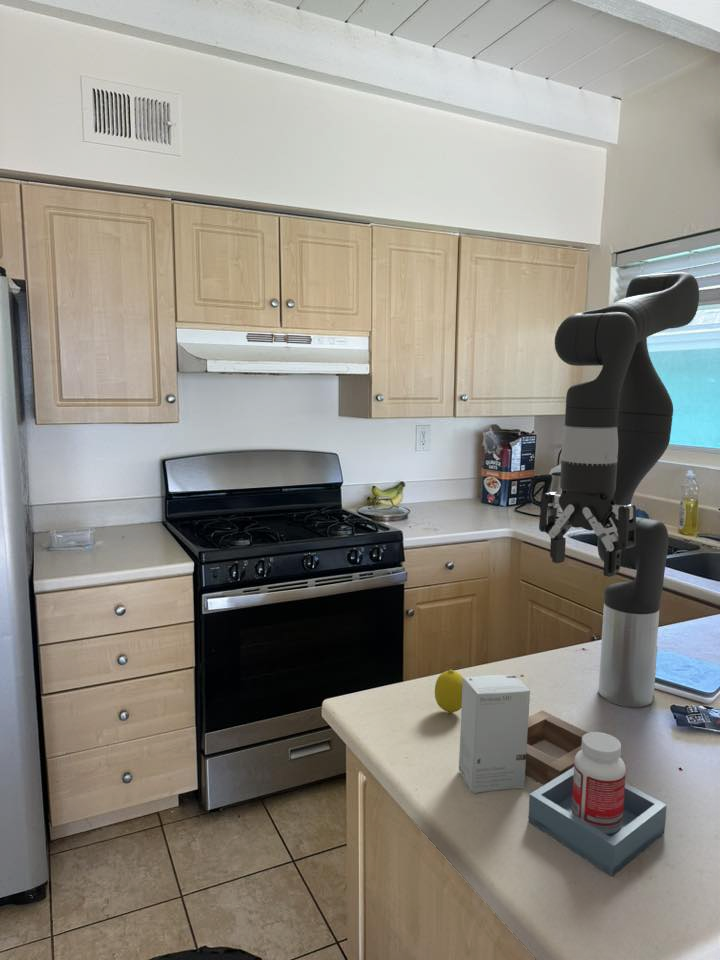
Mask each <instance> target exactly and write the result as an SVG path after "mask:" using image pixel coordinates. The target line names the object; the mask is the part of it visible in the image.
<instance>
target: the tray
mask: <svg viewBox="0 0 720 960" xmlns="http://www.w3.org/2000/svg"><path fill="white" fill-rule="evenodd" d="M573 779H574V767H573V768H572V769H570V770H568V771H567V772H565V773H563V774H562V775H560V776H558V777H557V778H555V779H553V780H552V781H550V782H549V783H547V784H545V785H542V786H540V787H539V788H537V789H535V790H533V791H531V792H530V793H529V801H528V823H529V824H531V825H532V826H533V827H536V828H537V829H538V830H540V831H542V832H543V833H545V834H546V835H548V836H549V837H551V838H552V839H554V840H555V841H557V842H559V843H560V844H561V845H563V846H565V847H566V848H568V850H570V851H572V852H573V853H575V854H577V855H578V856H579V857H581V858H582V859H585V860H586V861H587V862H589V863H590V864H591V865H593V866H595V867H596V868H598V869H600V870H601V871H603V872H604V873H605V874H607V875H609V876H610V877H613V876H615V875H616V874H617V873H618V872H620V871H621V870H622V869H623V868H624V867H626V866H627V865H628V864H629V863H631V862H632V861H633V860H634V859H635V858H636V857H637V856H639V855H640V854H641V853H643V852H644V851H645V850H646V849H648V848H649V847H650V846H651V845H652V844H654V843H655V842H656V841H657V840H659V838H661V837H662V836H663V835H664V834H665V829H666V819H667V816H666V815H667V808H668V807H667V804H666V803H664V802H662V801H661V800H659V799H656V798H655V797H653V796H651V795H649V794H647V793H645V792H643V791H642V790H639V789H637V788H635V787H634V786H631V785H629V784H628V783H626V782H625V791H624V806H623V820H622V826H621V828H620V829H619V830H618V831H617V832H615V833H612V834H605V833H603V832H601V831H600V830H598V829H596V828H595V827H593V826H591V825H590V824H588V823H586V822H585V821H583V820H581V819H580V818H578V817H577V816H575V815H573V814H572V797H573Z"/></svg>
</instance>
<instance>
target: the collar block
mask: <svg viewBox="0 0 720 960" xmlns="http://www.w3.org/2000/svg"><path fill="white" fill-rule="evenodd" d="M586 733H589V732H588V731H586V730H584V729H582V728H580V727H578V726H576V725H573V724H572V723H569V722H567V721H566V720H563V719H561V718H559V717H557V716H556V715H553V714H551V713H549V712H546V711H545V710H540V711H538V712H535V713H534V714H532V715H529V718H528V734H527V750H526V766H525V776H526V777H529V778H530V779H532V780H534V781H536V782H537V783H538V784H541V785H542V786H544V785H545V784H547V783H549V782H550V781H552V780H553V779H555V778H557V777H558V776H560V775H562V774H563V773H565V772H567V771H568V770H570V769H572V768H573V767H574V761H575V756H576V754H577V752H578V751H580V750H581V744H582V737H583V735H585V734H586ZM543 740H544V741H546V742H548V743H550V744H552V745H554V746H556V747H558V748H559V749H561V750H563V751H565V752H567V753H566V754H564V755H563V756H561V757H559V758H558V759H556V758H554V757H552V756H550V755H549V754H547V753H545V752H543V751H541V750H539V749H538V748H535V747H534V746H535V745H536V744H538V743H540V742H542V741H543Z"/></svg>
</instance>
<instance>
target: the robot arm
mask: <svg viewBox="0 0 720 960" xmlns="http://www.w3.org/2000/svg"><path fill="white" fill-rule="evenodd" d="M699 302H700V288H699V283H698V280H697V278H695V276H694V275H692V274H691V273H688V272H683V271H678V272H662V273H652V274H643V275H642V274H641V275H636V276H634V277H633V278H632V279H631V280H630V282H629V284H628V286H627V289H626V294H625V297H624V298H622V299H619V300H617V301H615V302H612V303H611V304H608V305H606V306H604V307H602V308H597V309H592V310H591V309H590V310H586V311H581V312H578V313H573V314H571V315H569V316H568V317H566V318H565V319H564V320H563V321H562V322H561V323H560V325H559V326H558V328H557V330H556V333H555V336H554V348H555V351H556V354H557V356H558V357H559V359H560V360H561V361H563V363H565V364H567V365H570V366H575V367H577V366H579V367H584V366H585V367H588V366H593V367H594V366H602V369H601V370H600V372H599V374H598V376H597V377H596V378H595V379H593V380H591V381H585V382H582V383H576V384H573V385H571V386H570V387H569V388H568V389H567V392H566V398H565V414H564V415H565V416H564V430H563V436H562V441H561V458H560V459H561V460H560V482H559V487H560V489H561V494H559V493H558V492H557V491H550V492H545V493H543V494H541V501H540V503H541V504H540V513H539V523H538V529H539V531H540V532H541V533H546V534H547V535H548V537H550V544H549V545H550V548H549V549H550V550H549V556H550V558H551V562H552V563H553V564H561V563H564V562H565V558H566V542H567V538H566V537H564V536H565V535H566V533H568V531H569V530H570V529H571V528H576V529H577V528H578V529H579V528H582V529H584V530H586V531H593V532H594V534H595V535H596V537H597V553H598V556H599V559H600V560H601V561H602V562H603V576H604V577H608V578H610V577H611V578H612V577H614V576H615V575H617V574H618V573H619V571H620V569H621V568H625V569H629V570H633V571H636V573H635V578H634V580H630V581H623V582H622V581H620V582H615V583H612V584H610V585H608V586H607V587H606V588H605V589H604V595H603V612H602V613H603V614H602V629H601V630H602V631H601V642H600V643H601V644H600V645H601V647H600V661H599V662H600V664H599V676H598V677H599V679H598V693H599V695H600V696H601V697H602V698H604V700H607V701H608V702H610V703H613V704H615V705H619V706H622V707H629V708H630V707H631V708H641V707H642V708H643V707H646V706H649V705H651V704H652V702H653V699H654V694H655V686H656V685H655V683H656V682H655V681H656V669H657V659H658V658H657V656H658V634H659V633H658V632H659V622H660V621H659V620H660V619H659V618H660V607H661V606H660V605H661V598H662V594H663V589H664V581H665V570H666V563H667V556H668V552H669V551H668V549H669V532H668V529H667V526H666V525H665V524H664V522H662V521H660V520H656V519H651V518H645V517H637V508H636V507H637V506H636V504H633V503H631V502H632V501H633V497H634V494H635V493H636V492H635V491H636V489H637V488H638V487H639V485H640V483H641V482H642V480H643V479H644V478H645V477H646V475H647V474H649V472H650V471H651V470H652V469H653V467H654V466H655V465H657V463H658V461H660V459H661V457H663V455H664V453H665V452H666V450H667V449H668V447H669V444H670V442H671V433H672V425H673V416H674V405H673V401H672V398H671V396H670V394H669V392H668V389H667V388H666V386H665V384H664V383H663V380H662V379H661V378H660V376H659V374H658V372H657V370H656V368H655V367H654V364H653V362H652V359H651V357H650V354H649V347H648V341H647V338H648V337H650V336H653V335H655V334H657V333H660V332H663V331H666V330H669V329H677V328H681V327H685V326H687V325H689V324H690V323H692V321H693V320H694V318H695V316H696V314H697V311H698V308H699ZM559 506H560V508H561V510H562V513H561V515H560V516H559V517H558V518H557V514H558V513H557V512H558V508H559Z"/></svg>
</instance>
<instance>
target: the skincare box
mask: <svg viewBox="0 0 720 960" xmlns="http://www.w3.org/2000/svg"><path fill="white" fill-rule="evenodd" d="M462 681H463V684H462V707H461V709H460V711H461V713H460V733H459V735H460V736H459V758H458V771H459V773H460V775H461V776H462V779H463V780H464V782H465V784H466V786H467V787H468V789H469V790H470V791H469V792H470V793H471V794H478V793H485V792H492V791H493V792H494V791H499V790H508V789H509V790H510V789H523V788H524V787H525V784H526V783H525V782H526V781H525V779H526V775H525V766H526V750H527V734H528V718H529V717H530V701H531V699H530V698H531V690H530V689H529V688H528V687H527V686H526V685H525V684H524V683H523V681H521V680H520V679H519V678H518V677H517V676H515V675H514V674H498V675H496V674H495V675H494V674H487V675H486V674H485V675H481V676H466V677H463V678H462Z"/></svg>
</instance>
